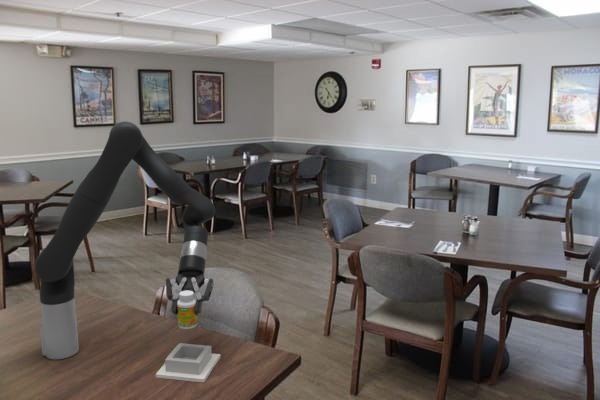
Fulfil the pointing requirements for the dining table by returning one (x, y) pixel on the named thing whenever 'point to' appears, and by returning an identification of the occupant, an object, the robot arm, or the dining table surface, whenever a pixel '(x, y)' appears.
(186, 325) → the supplement bottle
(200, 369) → the socket block
